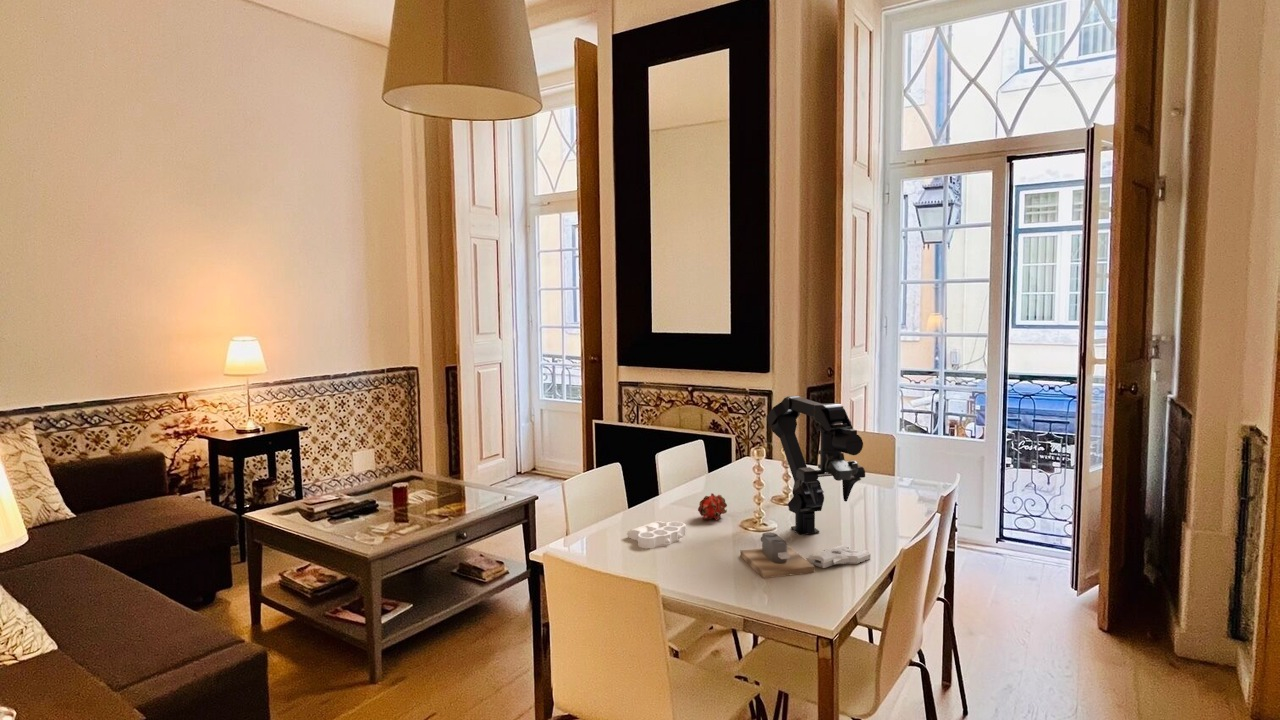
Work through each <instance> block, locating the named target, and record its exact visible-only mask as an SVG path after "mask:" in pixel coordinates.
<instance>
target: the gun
mask: <svg viewBox="0 0 1280 720" xmlns="http://www.w3.org/2000/svg"><path fill="white" fill-rule="evenodd" d="M871 558H872V557H871V553H870V552H868V550H866V549H864V550H861V551H860V550H855V549H851V548H850V547H849V546H847V545H836V546H834V547H830V548H828V549H825V550H823V551H821V552H819V553H815V554H812V555H809V556H808V557H806V558H805V559H806V560H807V561H808V562H809V563H811V564H812V565H813V566H814V567H819V568H823V569H826V568H828V567H832V566H834V565H845V564H847V565H848V564H851V565H857V564H861V563H863V562H865V560H866V561H868V560H870V559H871ZM860 562H861V563H860Z"/></svg>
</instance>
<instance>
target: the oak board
mask: <svg viewBox="0 0 1280 720" xmlns="http://www.w3.org/2000/svg"><path fill="white" fill-rule="evenodd" d="M787 553H789V554H790V558H789V559H787V562H786V563H783V564H777V563H774V562H772V561H771V560H770V559H769V558H767V557H766V556H765V555H764V554H763V553H762V547H761V548H759V547H758V548H753V549H752V548H750V549H742V550H740V552H739V554H740V557H741V558H742V559H744V561H745V562H746V563H747V564H748V565H749V566H750V567H751V568H752V569H753V570H754V571H756V573H757V574H759V576H760V577H762V578H763V579H766V578H767V579H768V578H775V577H783V576H784V575H785V576H791V575H790V574H794V575H801V574H800V573H803V574H809V573H811V574H812V573H815V565H812V564H811V563H809V562H808V561H807V560H806V558H805V557H803V556H802V555H800V553H798V552H797V551H796V550H794V549H793V548H791V546H789V545H787Z"/></svg>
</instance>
